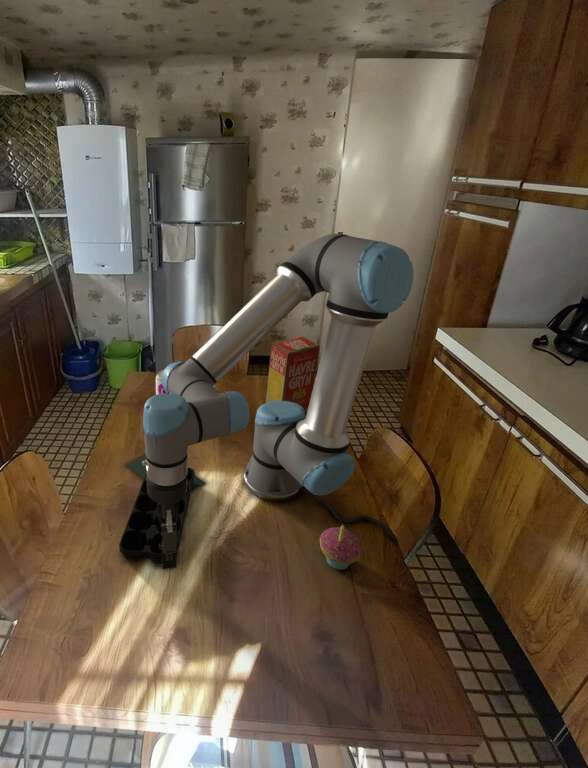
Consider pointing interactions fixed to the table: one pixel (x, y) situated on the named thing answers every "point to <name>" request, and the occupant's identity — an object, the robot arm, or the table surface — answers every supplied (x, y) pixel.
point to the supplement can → (159, 383)
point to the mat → (141, 471)
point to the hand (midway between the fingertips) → (169, 565)
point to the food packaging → (292, 371)
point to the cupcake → (340, 547)
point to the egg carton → (150, 525)
